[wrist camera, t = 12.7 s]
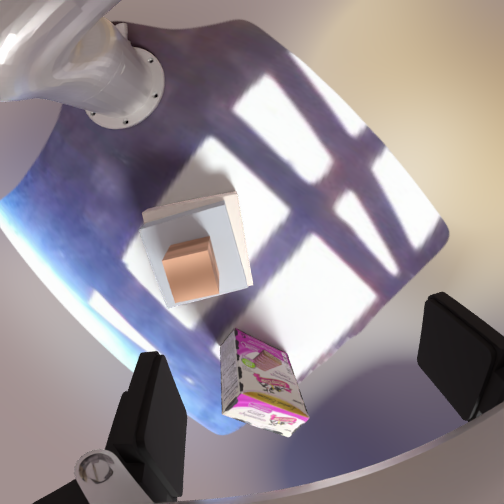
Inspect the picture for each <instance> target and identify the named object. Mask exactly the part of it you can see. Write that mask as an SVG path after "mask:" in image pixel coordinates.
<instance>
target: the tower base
mask: <svg viewBox="0 0 504 504" xmlns="http://www.w3.org/2000/svg"><path fill="white" fill-rule="evenodd" d="M223 200H225V204H226V208H227V211H228V215H229V219H230V222H231V226H232V229H233V233H234V237H235V240H236V244H237V247H238V251H239V255H240V258H241V262H242V265H243V269H244V272H245V276H246V280H247V285H248V286H250V285H253V281H252V275H251V270H250V264H249V258H248V252H247V246H246V241H245V235H244V229H243V223H242V217H241V212H240V206H239V200H238V194H237V192H236V191H234V192H228V193H223V194H217V195H212V196H207V197H201V198H196V199H191V200H186V201H181V202H176V203H172V204H167V205H162V206H157V207H153V208H148V209H146V210H145V211H144V212H142V216H143V220H144V224H146V223H148V222H151V221H154V220H158V219H161V218H164V217H167V216H171V215H174V214H177V213H181V212H184V211H188V210H191V209H195V208H198V207H202V206H205V205H209V204H212V203H216V202H219V201H223Z"/></svg>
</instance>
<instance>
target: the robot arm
mask: <svg viewBox="0 0 504 504" xmlns="http://www.w3.org/2000/svg"><path fill="white" fill-rule="evenodd" d="M120 1H121V0H0V102H9V101H20V100H27V99H33V98H40V99H47V100H52V101H56V102H59V103H63V104H67V105H70V106H74V107H77V108H81V109H84V110H85V111H86V113H87V114H88V116H89V117H90V119H92V120H93V121H94V122H95V123H97V124H98V125H100V126H102V127H106V128H110V129H124V128H129V127H132V126H134V125H136V124H138V123H140V122H142V121H143V120H145V119H146V118H147V117H148V116H149V115H150V114H151V113H152V112H153V111H154V110H155V109H156V107H157V106H158V104H159V102H160V100H161V98H162V95H163V92H164V87H165V76H164V72H163V68H162V66H161V64H160V63H159V61H158V60H157V58H156V57H155V56H153V55H152V54H151V53H150V52H148V51H146V50H144V49H141V48H137V47H132V46H131V43H130V41H128V39H127V35H128V29H127V24H126V23H120V24H117V25H115V26H114V24H113V23H111V22H110V21H109V20H108V19H106V18H105V17H103V16H104V15H105V14H106V13H107V12H108V11H110V10H111V9H112V8H113V7H114V6H115V5H116V4H118V3H119V2H120ZM151 61H153V62H152V63H150V62H151ZM155 95H158V97H157V98H155ZM94 113H96V114H95V115H94ZM126 121H128V124H126ZM417 362H418V365H419V366H420V368H421V369H422V370H423V371H424V372H425V374H426V375H427V376H428V377H429V378H430V379H431V381H432V382H433V383H434V384H435V386H436V387H437V388H438V389H439V390H440V392H441V393H442V394H443V395H444V396H445V398H446V399H447V400H448V401H449V403H450V404H451V405H452V406H453V407H454V409H455V410H456V411H457V412H458V414H459V415H460V416H461V418H462V419H463V420H465V421H468V423H467V424H465V425H463V426H461V427H459V428H457V429H455V430H453V431H451V432H450V433H447V434H445V435H444V436H442V437H439V438H437V439H435V440H433V441H431V442H429V443H427V444H424V445H422V446H420V447H418V448H415V449H413V450H411V451H408V452H406V453H403V454H401V455H399V456H396V457H393V458H391V459H388V460H386V461H383V462H380V463H377V464H375V465H372V466H369V467H366V468H363V469H360V470H357V471H353V472H350V473H347V474H343V475H340V476H337V477H333V478H329V479H326V480H322V481H318V482H314V483H310V484H305V485H301V486H296V487H292V488H286V489H281V490H276V491H270V492H264V493H257V494H250V495H243V496H235V497H227V498H217V499H204V500H190V501H178V502H177V497H181V496H182V492H183V474H184V457H185V441H186V426H187V413H186V409H185V407H184V404H183V402H182V400H181V397H180V395H179V392H178V389H177V387H176V384H175V382H174V379H173V376H172V374H171V371H170V368H169V366H168V363H167V360H166V358H165V356H164V355H160V354H159V353H158V352H157V351H153V352H144V353H141V354H140V356H139V359H138V362H137V364H136V367H135V370H134V373H133V376H132V380H131V383H130V386H129V389H128V391H125V392H124V393H123V394H122V396H121V399H120V402H119V405H118V409H117V412H116V415H115V418H114V421H113V424H112V427H111V431H110V434H109V437H108V441H107V444H106V447H105V450H102V449H99V450H92V451H90V452H87V453H86V454H84V455H83V456H81V457H80V459H79V460H78V461H77V463H76V465H75V468H74V474H75V478H76V479H75V480H73V481H71V482H69V483H68V484H66V485H64V486H63V487H61V488H59V489H57V490H56V491H54V492H52V493H50V494H48V495H47V496H45V497H43V498H41V499H39V500H38V501H36V502H34V503H33V504H504V336H502V335H501V334H500V333H498V332H497V331H496V330H495V329H493V328H492V327H491V326H490V325H488V324H487V323H486V322H484V321H483V320H482V319H480V318H479V317H478V316H476V315H475V314H474V313H472V312H471V311H470V310H468V309H467V308H466V307H464V306H463V305H461V304H460V303H459V302H457V301H456V300H455V299H453V298H452V297H450V296H449V295H448V294H446V293H445V292H439V293H436V294H433V295H430V296H429V297H428V300H427V301H426V302H425V306H424V315H423V323H422V331H421V338H420V344H419V350H418V356H417Z"/></svg>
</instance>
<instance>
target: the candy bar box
mask: <svg viewBox="0 0 504 504" xmlns="http://www.w3.org/2000/svg"><path fill="white" fill-rule="evenodd" d="M220 359H221V400H222V414H223V415H225V416H228V417H231V418H233V419H236V420H239V421H242V422H244V423H247V424H250V425H253V426H256V427H259V428H262V429H265V430H268V431H271V432H274V433H277V434H280V435H283V436H287V437H290V436H291V435H292V434H293V433H294V432H295V431H296V430H297V429H298V428H299V427H300V426H301V425H302V424H304V423H305V422H306V421H307V420H308V419H309V416H308V413H307V410H306V407H305V404H304V401H303V398H302V395H301V392H300V389H299V386H298V384H297V381H296V378H295V375H294V372H293V369H292V366H291V363H290V360H289V357H288V354H287V353H285V352H283V351H280V350H278V349H276V348H274V347H272V346H270V345H268V344H266V343H264V342H262V341H260V340H258V339H256V338H254V337H252V336H250V335H248V334H246V333H244V332H242V331H240V330H238V329H236V328H234V330H233V331H232V332H231V334H230V335H229V337H228V338H227V339H226V340H225V342H224V343H223V344H222V345H221V347H220Z"/></svg>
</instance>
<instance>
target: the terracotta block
mask: <svg viewBox="0 0 504 504" xmlns="http://www.w3.org/2000/svg"><path fill="white" fill-rule="evenodd" d="M162 264H163V267H164V270H165V273H166V276H167V280H168V283H169V286H170V289H171V292H172V295H173V298H174V301H175V303H178V302H183V301H188V300H192V299H197V298H202V297H207V296H211V295H216V294H219V270H218V267H217V263H216V259H215V255H214V251H213V247H212V243H211V239H210V236H207V237H203V238H198V239H194V240H190V241H186V242H181V243H177V244H173V245H170V247H169V248H168V250H167V252H166V254H165V256H164V258H163V259H162Z"/></svg>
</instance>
